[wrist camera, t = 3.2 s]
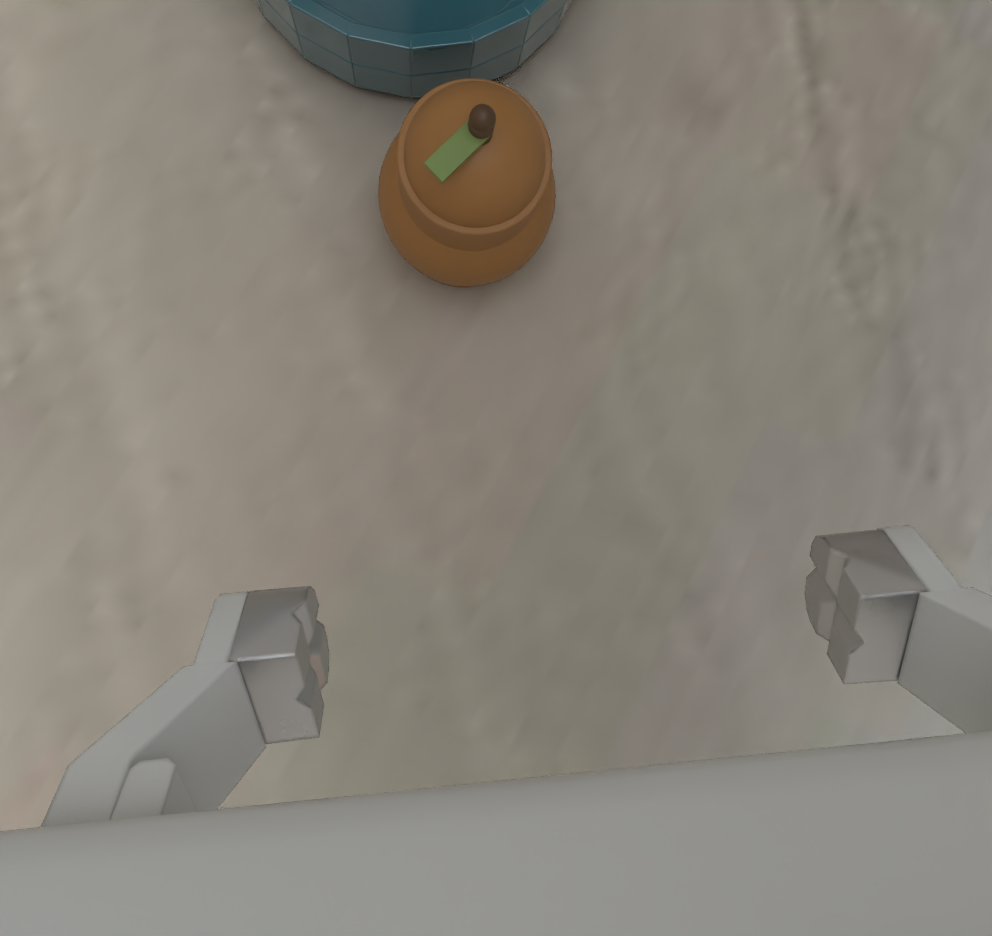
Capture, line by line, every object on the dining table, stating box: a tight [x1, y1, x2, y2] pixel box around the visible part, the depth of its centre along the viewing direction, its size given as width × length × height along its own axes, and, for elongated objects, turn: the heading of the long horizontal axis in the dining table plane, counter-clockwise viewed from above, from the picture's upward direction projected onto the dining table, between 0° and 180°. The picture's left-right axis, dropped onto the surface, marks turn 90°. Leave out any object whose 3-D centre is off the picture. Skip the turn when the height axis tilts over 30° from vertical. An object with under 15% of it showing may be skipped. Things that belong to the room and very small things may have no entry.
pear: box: [378, 78, 556, 287], centre depth 27 cm, size 6×6×10 cm
